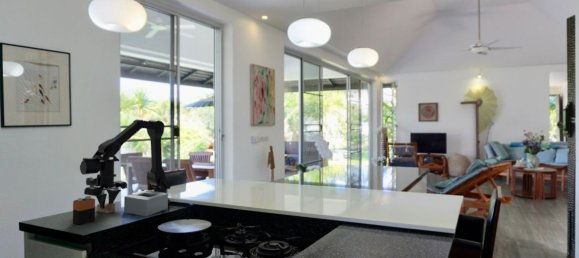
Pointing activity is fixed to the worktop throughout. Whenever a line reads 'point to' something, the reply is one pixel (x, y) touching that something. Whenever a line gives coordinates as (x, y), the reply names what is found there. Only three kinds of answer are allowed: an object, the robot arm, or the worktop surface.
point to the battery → (84, 210)
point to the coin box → (145, 203)
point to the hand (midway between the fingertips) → (106, 207)
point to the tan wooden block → (106, 208)
